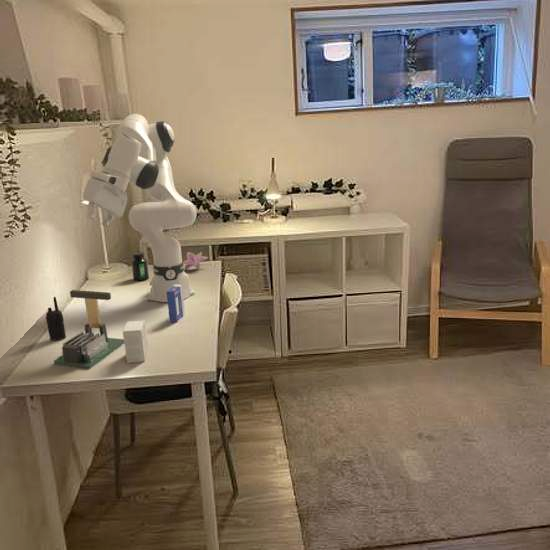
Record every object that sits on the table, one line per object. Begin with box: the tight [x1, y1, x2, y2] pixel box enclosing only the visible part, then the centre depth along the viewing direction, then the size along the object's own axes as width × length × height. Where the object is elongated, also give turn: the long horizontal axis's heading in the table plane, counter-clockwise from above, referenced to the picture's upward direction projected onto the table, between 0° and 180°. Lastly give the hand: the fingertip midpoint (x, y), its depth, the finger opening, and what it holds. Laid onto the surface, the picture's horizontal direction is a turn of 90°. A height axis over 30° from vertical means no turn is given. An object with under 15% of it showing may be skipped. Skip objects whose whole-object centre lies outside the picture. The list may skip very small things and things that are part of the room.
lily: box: [182, 251, 209, 273], centre depth 261 cm, size 12×12×10 cm
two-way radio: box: [45, 296, 66, 341], centre depth 189 cm, size 6×4×15 cm
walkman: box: [167, 285, 186, 323], centre depth 204 cm, size 8×3×12 cm, turn 167°
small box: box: [122, 320, 149, 364], centre depth 174 cm, size 8×6×10 cm
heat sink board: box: [53, 322, 125, 369], centre depth 178 cm, size 19×13×8 cm
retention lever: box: [69, 289, 112, 329], centre depth 179 cm, size 1×14×12 cm, turn 72°
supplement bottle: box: [130, 251, 150, 282], centre depth 252 cm, size 7×7×12 cm
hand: (97, 222), depth 180 cm, fingers open, 8 cm apart
